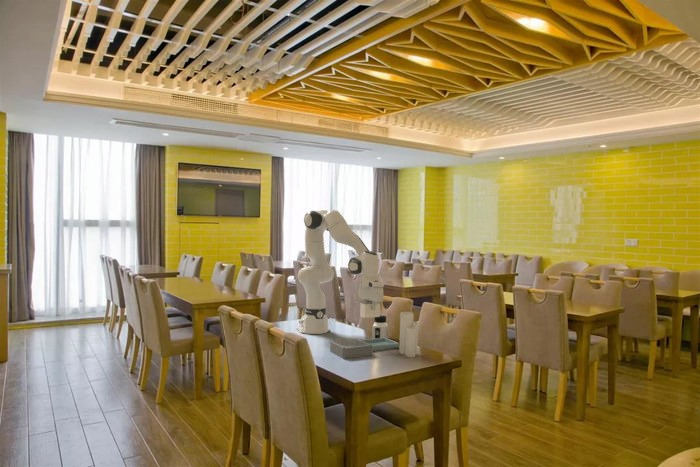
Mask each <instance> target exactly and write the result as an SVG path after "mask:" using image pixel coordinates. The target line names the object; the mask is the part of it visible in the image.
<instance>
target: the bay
mask: <svg viewBox="0 0 700 467" xmlns="http://www.w3.org/2000/svg"><path fill="white" fill-rule="evenodd" d="M354 340H355V341H354V344H355V345H354V346H347V347H345V346H342V345H340V344H338V343H336V342H334V341H330V342H329V344H330V346H329V352H330V353H332V354H334V355H336V356H337V357H339V358H341V359H343V360H347V359H354V358H363V357H370V356H373V351H372V345H370V344H368V343H366V342H364V341H361V340H362V339H359V338H355V339H354Z"/></svg>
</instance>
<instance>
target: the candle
mask: <svg viewBox="0 0 700 467" xmlns="http://www.w3.org/2000/svg"><path fill="white" fill-rule="evenodd" d="M418 331H419V323H418V322H414V312H412V311H401V312H400V313H399V348H398V349H399V351H398V352H399V353H400V354H401V355H405V357H408V358H415V357H416V355H418V341H419V340H418V338H419V337H418V336H419V335H418V334H419V332H418Z"/></svg>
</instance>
